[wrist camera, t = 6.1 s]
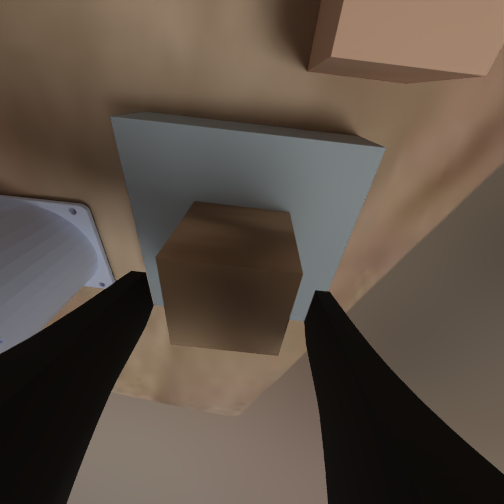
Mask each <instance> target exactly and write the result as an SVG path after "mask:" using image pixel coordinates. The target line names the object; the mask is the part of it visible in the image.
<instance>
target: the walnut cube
mask: <svg viewBox="0 0 504 504" xmlns="http://www.w3.org/2000/svg"><path fill="white" fill-rule="evenodd" d="M155 258H156V264H157V270H158V275H159V281H160V287H161V292H162V298H163V304H164V309H165V315H166V320H167V326H168V332H169V337H170V343H171V345H181V346H190V347H200V348H209V349H219V350H228V351H238V352H247V353H257V354H266V355H276V356H278V354H279V351H280V348H281V345H282V341H283V338H284V335H285V332H286V328H287V325H288V322H289V319H290V315H291V312H292V309H293V306H294V302H295V299H296V296H297V293H298V289H299V286H300V283H301V280H302V276H303V271H302V266H301V261H300V257H299V252H298V248H297V243H296V238H295V234H294V229H293V225H292V220H291V215H290V212H283V211H274V210H266V209H258V208H249V207H241V206H232V205H224V204H215V203H207V202H198V201H194V202H193V204H192V205H191V207H190V208H189V210H188V211H187V212H186V214H185V215H184V217H183V218H182V220H181V221H180V223H179V224H178V225H177V227H176V228H175V230H174V231H173V233H172V234H171V236H170V237H169V238H168V240H167V241H166V243H165V244H164V246H163V247H162V249H161V250H160V251H159V253H158V254H157V256H156V257H155Z"/></svg>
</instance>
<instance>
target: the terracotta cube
mask: <svg viewBox="0 0 504 504" xmlns="http://www.w3.org/2000/svg"><path fill="white" fill-rule="evenodd" d="M503 44H504V0H321V3H320V8H319V13H318V19H317V24H316V29H315V34H314V40H313V45H312V50H311V55H310V61H309V66H308V71H309V72H317V73H325V74H333V75H341V76H349V77H357V78H365V79H373V80H381V81H389V82H397V83H405V84H408V83H418V82H429V81H439V80H450V79H461V78H471V77H482V76H486V75H487V73H488V71H489V70H490V68H491V66H492V64H493V62H494V61H495V59H496V57H497V55H498V53H499V51H500V50H501V48H502V46H503Z"/></svg>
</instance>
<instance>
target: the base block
mask: <svg viewBox="0 0 504 504" xmlns="http://www.w3.org/2000/svg"><path fill="white" fill-rule="evenodd" d="M110 119H111V123H112V127H113V131H114V136H115V140H116V144H117V148H118V153H119V157H120V161H121V166H122V170H123V174H124V178H125V183H126V187H127V191H128V195H129V200H130V204H131V208H132V212H133V217H134V221H135V225H136V230H137V234H138V238H139V242H140V247H141V251H142V255H143V259H144V264H145V268H146V272H147V276H148V281H149V285H150V289H151V294H152V298H153V302H154V305H159V306H164V304H163V298H162V292H161V287H160V281H159V275H158V270H157V264H156V258H155V257H156V256H157V254H158V253H159V251H160V250H161V249H162V247H163V246H164V244H165V243H166V241H167V240H168V238H169V237H170V236H171V234H172V233H173V231H174V230H175V228H176V227H177V225H178V224H179V223H180V221H181V220H182V218H183V217H184V215H185V214H186V212H187V211H188V210H189V208H190V207H191V205H192V204H193V202H194V201H198V202H207V203H215V204H224V205H232V206H241V207H249V208H258V209H266V210H274V211H283V212H290V215H291V220H292V225H293V229H294V234H295V238H296V243H297V248H298V252H299V257H300V261H301V266H302V271H303V276H302V280H301V283H300V286H299V289H298V293H297V296H296V299H295V302H294V306H293V309H292V312H291V315H290V319H289V320H299V321H304V320H305V317H306V315H307V312H308V309H309V306H310V304H311V301H312V298H313V295H314V292H315V290H318V291H328V289H329V287H330V284H331V282H332V280H333V277H334V275H335V272H336V270H337V267H338V265H339V262H340V260H341V257H342V255H343V253H344V250H345V248H346V245H347V243H348V240H349V238H350V235H351V233H352V230H353V228H354V226H355V223H356V221H357V218H358V216H359V213H360V211H361V208H362V206H363V203H364V201H365V199H366V196H367V194H368V191H369V189H370V186H371V184H372V181H373V179H374V176H375V174H376V172H377V169H378V167H379V164H380V162H381V159H382V157H383V154H384V152H385V150H386V148H385V147H383V146H381V145H378V144H376V143H374V142H371V141H369V140H367V139H365V138H362V137H360V136H355V135H346V134H337V133H329V132H320V131H311V130H303V129H294V128H285V127H276V126H268V125H259V124H250V123H241V122H233V121H224V120H215V119H207V118H198V117H189V116H180V115H172V114H163V113H154V112H139V113H131V114H124V115H116V116H110Z"/></svg>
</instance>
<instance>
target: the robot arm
mask: <svg viewBox="0 0 504 504" xmlns="http://www.w3.org/2000/svg"><path fill="white" fill-rule="evenodd" d="M73 209H75V210H76V211H74V210H73ZM83 286H87V287H97V288H106V289H104V290H103V291H102V292H100V293H99V294H97V295H96V296H94V297H93V298H91V299H90V300H88V301H87V302H86V303H84V304H83V305H81V306H80V307H78V308H77V309H75V310H73V311H72V312H70V313H69V314H67V315H66V316H64V317H62V318H61V319H59V320H58V321H56V322H55V323H53V324H51V325H50V326H48V327H47V328H45V329H43V328H44V327H45V326H46V324H47V323H48V322H49V321H50V320H51V319H52V318H53V317H54V316H55V315H56V314H57V313H58V312H59V311H60V310H61V309H62V308H63V307H64V306H65V305H66V304H67V303H68V302H69V301H70V300H71V299H72V297H73V296H74V295H75V294H76V293H77V292H78V291H79V290H80V289H81V288H82V287H83ZM153 306H154V305H153V301H152V297H151V293H150V288H149V284H148V280H147V276H146V272H136V271H131V272H129V273H127V274H126V275H124V276H123V277H122V278H120V279H119V280H117V281H116V282H115V280H114V277H113V274H112V271H111V268H110V266H109V263H108V260H107V257H106V254H105V251H104V249H103V246H102V243H101V240H100V237H99V234H98V231H97V229H96V226H95V223H94V220H93V217H92V214H91V212H90V209H89V208H88V207H87V206H86V205H84V204H81V203H72V202H63V201H53V200H44V199H35V198H26V197H17V196H8V195H0V504H67V501H68V498H69V495H70V492H71V489H72V487H73V484H74V481H75V479H76V476H77V473H78V471H79V468H80V466H81V463H82V460H83V458H84V455H85V452H86V450H87V447H88V445H89V442H90V440H91V438H92V435H93V432H94V430H95V428H96V425H97V423H98V420H99V418H100V416H101V413H102V411H103V409H104V407H105V404H106V402H107V400H108V397H109V395H110V393H111V391H112V389H113V387H114V385H115V383H116V381H117V379H118V377H119V375H120V373H121V371H122V369H123V368H124V366H125V364H126V362H127V360H128V358H129V357H130V355H131V353H132V351H133V349H134V347H135V346H136V344H137V342H138V340H139V338H140V336H141V334H142V332H143V331H144V329H145V326H146V324H147V321H148V319H149V316H150V314H151V311H152V308H153ZM304 325H305V338H306V346H307V351H308V357H309V362H310V367H311V371H312V376H313V381H314V386H315V391H316V396H317V401H318V407H319V414H320V423H321V432H322V440H323V450H324V461H325V470H326V483H327V495H328V504H504V474H503V473H501V472H500V471H499V470H498V469H497V468H496V467H495V466H493V465H492V464H491V463H490V462H489V461H487V460H486V459H485V458H484V457H483V456H482V455H480V454H479V453H478V452H477V451H476V450H475V449H474V448H472V447H471V446H470V445H469V444H468V443H466V441H464V440H463V439H462V438H461V437H460V436H459V435H458V434H457V433H455V432H454V431H453V430H452V429H451V428H450V427H449V426H448V425H446V423H445V422H444V421H443V420H441V419H440V418H439V417H438V416H437V415H436V414H435V413H434V412H433V411H432V410H431V409H430V408H429V407H427V405H425V404H424V403H423V402H422V401H421V400H420V399H419V398H418V397H417V396H416V395H415V394H414V393H413V392H412V391H411V390H410V389H409V387H408V386H407V385H406V384H405V383H404V382H403V381H402V380H401V379H400V378H399V377H398V376H397V375H396V374H395V373H394V372H393V371H392V370H391V369H390V367H389V366H388V365H387V364H386V363H385V362H384V361H383V359H382V358H381V357H380V356H379V355H378V354H377V353H376V351H375V350H374V349H373V348H372V347H371V345H370V344H369V343H368V342H367V341H366V339H365V338H364V337H363V335H362V334H361V333H360V332H359V330H358V329H357V328H356V327H355V325H354V324H353V323H352V321H351V320H350V319H349V317H348V316H347V315H346V313H345V312H344V311H343V309H342V308H341V306H340V305H339V304H338V302H337V301H336V300H335V298H334V297H333V296H332V294H331V293H330V292H328V291H318V290H315V292H314V295H313V298H312V301H311V304H310V306H309V309H308V312H307V315H306V317H305V320H304ZM42 329H43V330H42ZM41 330H42V331H41Z"/></svg>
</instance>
